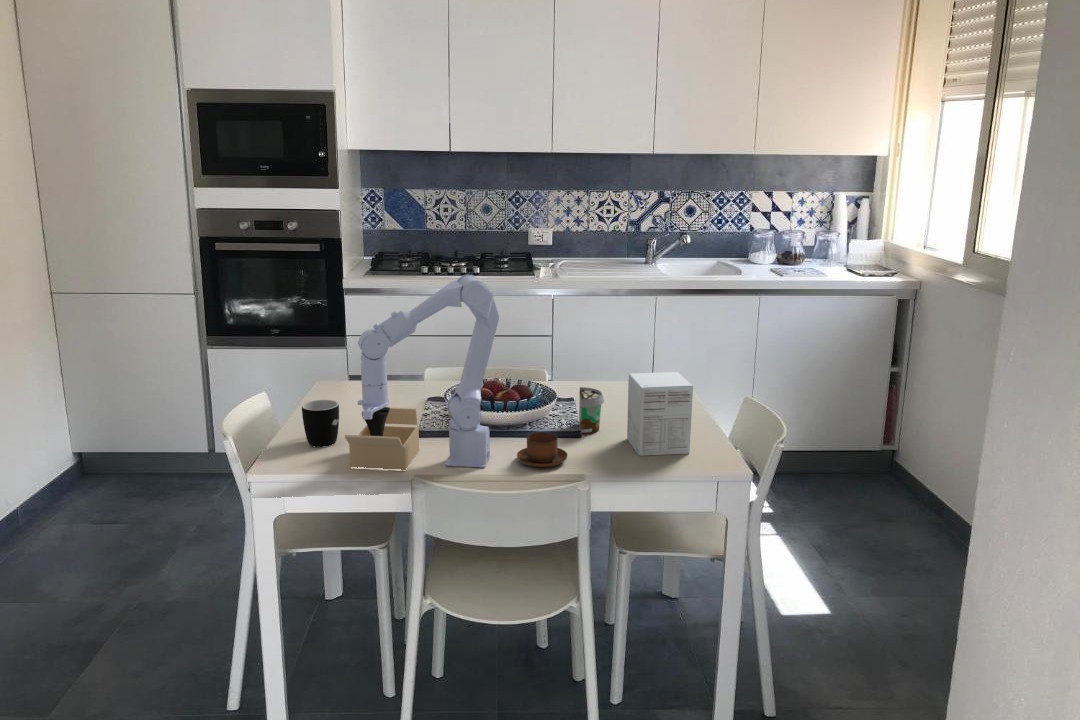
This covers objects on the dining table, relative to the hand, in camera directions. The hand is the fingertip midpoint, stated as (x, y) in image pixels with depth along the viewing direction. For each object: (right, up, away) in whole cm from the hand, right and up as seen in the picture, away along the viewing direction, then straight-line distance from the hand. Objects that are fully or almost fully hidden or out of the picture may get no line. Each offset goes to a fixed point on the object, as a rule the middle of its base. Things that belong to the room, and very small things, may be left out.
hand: (377, 439), depth 207 cm
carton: (+1, -5, +8) cm, 10 cm away
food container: (+51, 0, +31) cm, 60 cm away
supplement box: (+67, -3, +19) cm, 70 cm away
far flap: (+1, +5, +12) cm, 13 cm away
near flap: (0, 0, -2) cm, 2 cm away
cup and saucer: (+38, -6, +8) cm, 39 cm away
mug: (-17, -2, +21) cm, 27 cm away
